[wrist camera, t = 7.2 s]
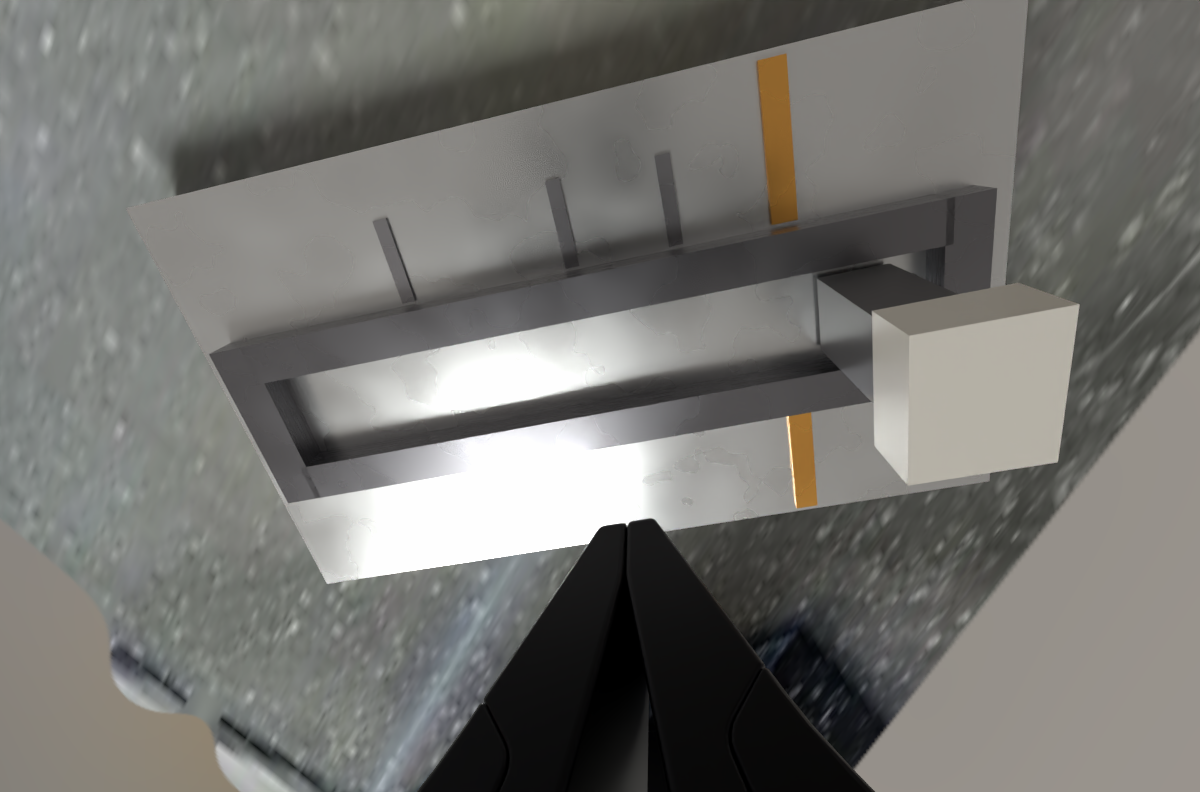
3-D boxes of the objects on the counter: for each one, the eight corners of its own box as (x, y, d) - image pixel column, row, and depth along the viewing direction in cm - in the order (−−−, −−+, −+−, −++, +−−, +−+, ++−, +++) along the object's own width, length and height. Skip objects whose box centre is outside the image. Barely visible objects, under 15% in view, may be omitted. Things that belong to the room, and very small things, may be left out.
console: (956, 451, 20) (1008, 498, 18) (349, 548, 23) (314, 603, 20) (979, 3, 15) (1060, -28, 12) (176, 201, 18) (95, 212, 15)
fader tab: (904, 350, 17) (1057, 461, 11) (808, 367, 17) (908, 485, 11) (904, 242, 15) (1079, 304, 10) (801, 263, 16) (909, 336, 10)
